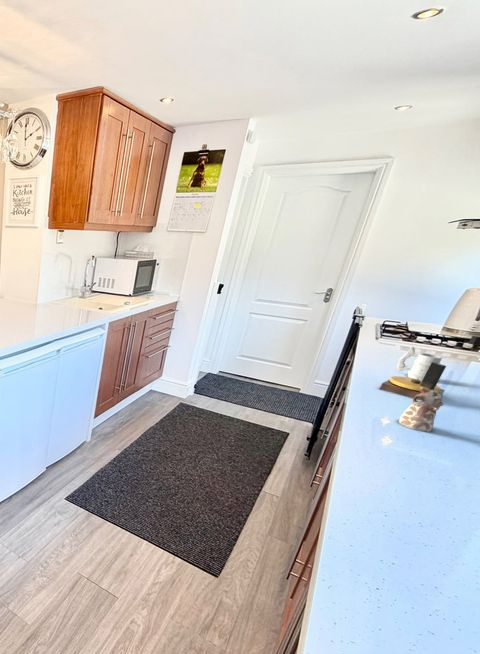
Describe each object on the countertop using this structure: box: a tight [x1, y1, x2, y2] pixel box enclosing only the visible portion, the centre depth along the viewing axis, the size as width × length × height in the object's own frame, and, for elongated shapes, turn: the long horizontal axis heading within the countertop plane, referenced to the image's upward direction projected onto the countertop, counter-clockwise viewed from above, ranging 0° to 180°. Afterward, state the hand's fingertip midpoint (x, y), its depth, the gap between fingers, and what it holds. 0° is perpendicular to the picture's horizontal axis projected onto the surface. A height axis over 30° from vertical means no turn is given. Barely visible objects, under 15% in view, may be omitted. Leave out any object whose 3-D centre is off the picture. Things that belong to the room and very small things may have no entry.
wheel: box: [389, 362, 447, 392], centre depth 147 cm, size 13×13×10 cm
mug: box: [396, 346, 443, 380], centre depth 165 cm, size 8×12×12 cm, turn 39°
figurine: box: [398, 388, 444, 433], centre depth 121 cm, size 7×7×12 cm
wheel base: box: [379, 379, 446, 401], centre depth 150 cm, size 14×14×2 cm
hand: (472, 340), depth 138 cm, fingers closed
